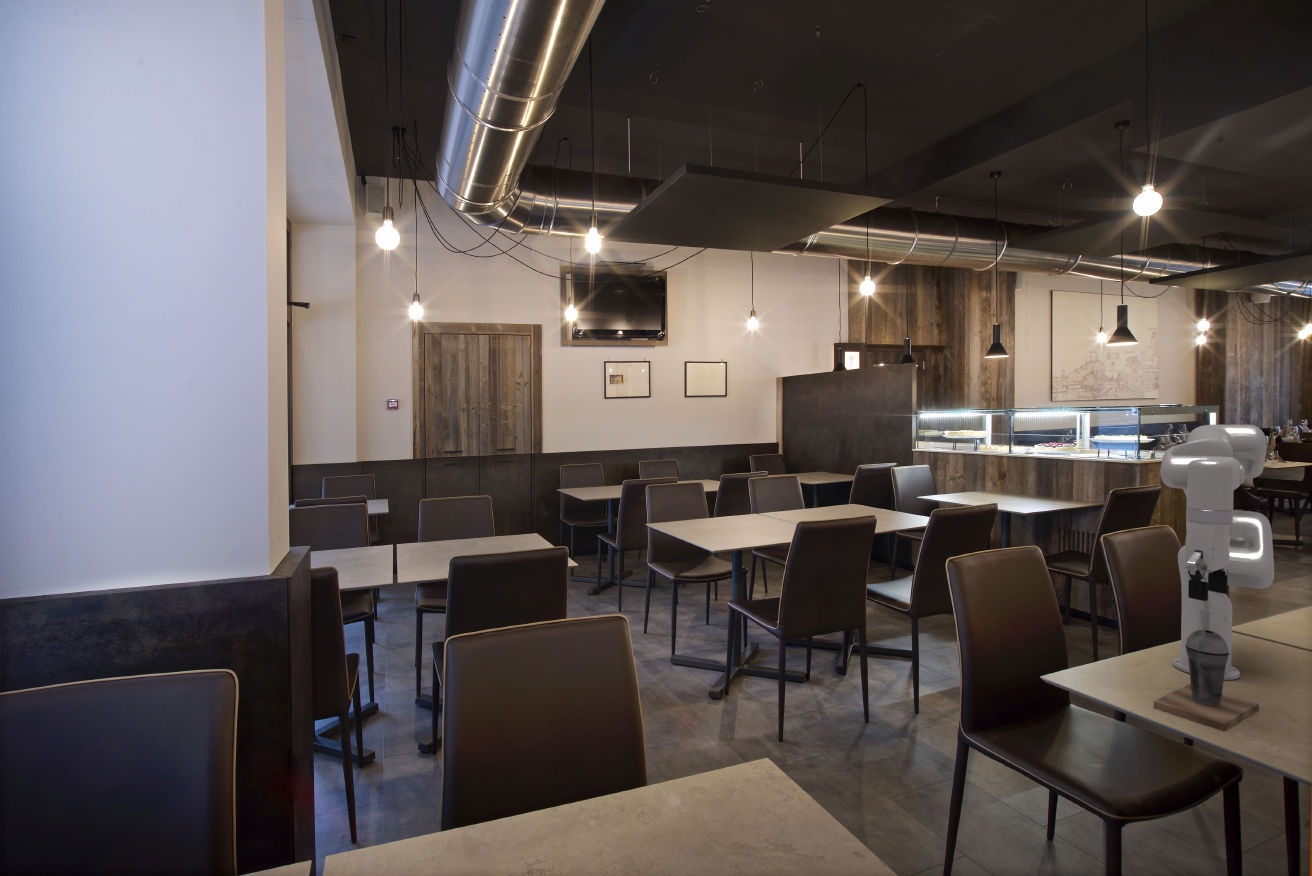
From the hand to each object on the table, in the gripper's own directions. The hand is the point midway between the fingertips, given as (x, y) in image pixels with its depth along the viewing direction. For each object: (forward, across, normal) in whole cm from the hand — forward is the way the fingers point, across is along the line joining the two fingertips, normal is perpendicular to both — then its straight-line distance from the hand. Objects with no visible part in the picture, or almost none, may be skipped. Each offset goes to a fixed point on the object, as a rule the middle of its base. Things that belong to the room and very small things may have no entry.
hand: (1207, 595), depth 136 cm
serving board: (+25, +1, 0) cm, 25 cm away
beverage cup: (+23, +1, 0) cm, 23 cm away
